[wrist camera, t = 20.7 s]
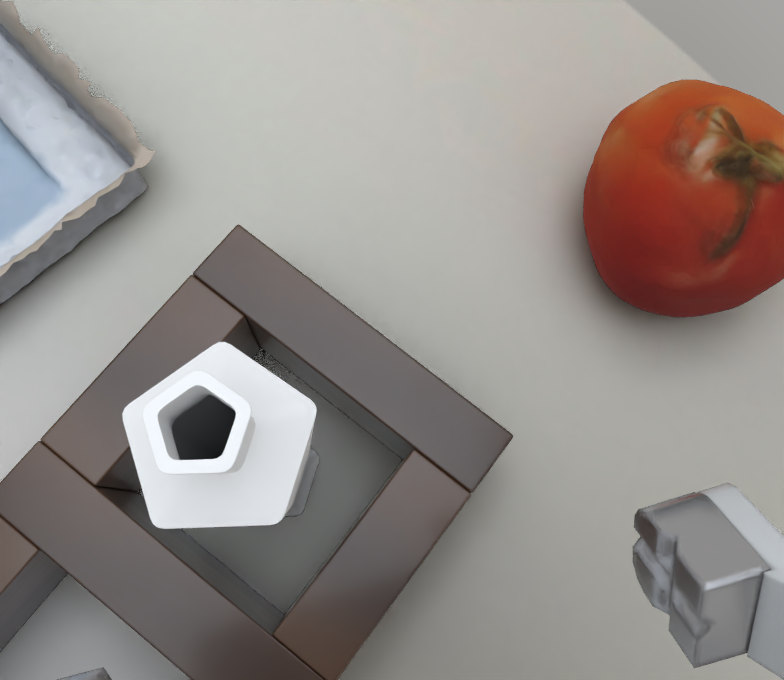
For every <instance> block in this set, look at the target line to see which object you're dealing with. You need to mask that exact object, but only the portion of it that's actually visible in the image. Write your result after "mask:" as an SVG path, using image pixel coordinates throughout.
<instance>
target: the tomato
mask: <svg viewBox="0 0 784 680" xmlns="http://www.w3.org/2000/svg"><path fill="white" fill-rule="evenodd" d="M583 219H584V226H585V232H586V236H587V239H588V243H589V246H590V249H591V253H592V256H593V259H594V262H595V265H596V268H597V270H598V272H599V274H600V276H601V277H602V279H603V280H604V282H605V283H606V285H607V286H608V287H609V288H610V289H611V290H612V291H613V292H614V293H615V294H616V295H617V296H618V297H619V298H620V299H622V300H624V301H625V302H627V303H629V304H631V305H633V306H635V307H636V308H639V309H642V310H645V311H647V312H651V313H655V314H659V315H665V316H671V317H693V316H700V315H706V314H711V313H715V312H720V311H724V310H729V309H732V308H735V307H737V306H739V305H741V304H744V303H745V302H747V301H749V300H751V299H752V298H754V297H756V296H757V295H759V294H761V293H762V292H764V291H765V290H767V289H769V288H770V287H772V286H773V285H775V284H777V283H778V282H780V281H781V280H782V279H783V278H784V115H782V114H781V113H780V112H778V111H777V110H776V109H774V108H773V107H771V106H770V105H769V104H767V103H765V102H763V101H761V100H759V99H757V98H755V97H753V96H751V95H748V94H745V93H742V92H740V91H738V90H735V89H732V88H729V87H725V86H720V85H715V84H712V83H708V82H705V81H700V80H679V81H675V82H671V83H668V84H666V85H663V86H661V87H659V88H657V89H656V90H654V91H652V92H651V93H649V94H647V95H645V96H644V97H642V98H640V99H639V100H637V101H636V102H634V103H633V104H631V105H629V106H628V107H626V108H625V109H623V110H622V111H621V112H620V113H619V114H618V115H617V116H616V117H615V118H614V119H613V120H612V121H611V123H610V124H609V126H608V128H607V130H606V132H605V134H604V136H603V138H602V141H601V143H600V146H599V148H598V150H597V152H596V154H595V157H594V161H593V164H592V166H591V168H590V171H589V174H588V177H587V181H586V185H585V190H584V206H583Z"/></svg>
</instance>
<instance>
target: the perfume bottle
mask: <svg viewBox="0 0 784 680" xmlns="http://www.w3.org/2000/svg"><path fill="white" fill-rule="evenodd" d="M316 411H317V409H316V406H315V404H314V403H313V402H312V401H311V400H310V399H309V398H308V397H306V396H305V395H303V394H302V393H300V392H299V391H297V390H296V389H295V388H293V387H292V386H290V385H289V384H287V383H286V382H284V381H283V380H281V379H280V378H279V377H277V376H276V375H274V374H273V373H271V372H270V371H268V370H267V369H265V368H264V367H263V366H261V365H260V364H258V363H257V362H255V361H254V360H252V359H251V358H250V357H248V356H247V355H245V354H244V353H242V352H241V351H239V350H238V349H236V348H235V347H234V346H232V345H231V344H228V343H226V342H218V343H216V344H214V345H212V346H211V347H210V348H208V349H207V350H205V351H204V352H202V353H201V354H200V355H198V356H197V357H195V358H194V359H192V360H191V361H190V362H188V363H187V364H185V365H184V366H182V367H181V368H180V369H178V370H177V371H175V372H174V373H172V374H171V375H170V376H168V377H167V378H165V379H164V380H162V381H161V382H160V383H158V384H157V385H155V386H154V387H152V388H151V389H150V390H148V391H147V392H145V393H144V394H142V395H141V396H140V397H138V398H137V399H135V400H134V401H132V402H131V403H130V404H128V405H127V406H126V407H125V408H124V411H123V414H122V416H123V423H124V426H125V430H126V434H127V437H128V441H129V444H130V448H131V451H132V455H133V459H134V462H135V466H136V469H137V473H138V477H139V480H140V484H141V487H142V491H143V494H144V498H145V502H146V505H147V509H148V512H149V516H150V519H151V521H152V523H153V525H155V526H156V527H158V528H163V529H174V528H202V527H230V526H258V525H273V524H277V523H278V522H279V521H281V520H282V519H283V517H284V516H297V515H300V514H301V513H302V512H303V510H304V507H305V504H306V501H307V497H308V494H309V491H310V488H311V485H312V481H313V478H314V475H315V472H316V468H317V465H318V462H319V456H318V454H317V453H316V452H315V451H314V450H312V449H311V448H310V445H311V439H312V434H313V428H314V423H315V418H316Z"/></svg>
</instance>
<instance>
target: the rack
mask: <svg viewBox="0 0 784 680" xmlns="http://www.w3.org/2000/svg"><path fill="white" fill-rule="evenodd" d="M193 275H194V276H193ZM193 275H191V276H190V277H189V278H188V279H187V280H186V281H185V282H184V283H183V284H182V285H181V286H180V288H179V289H178V290H177V291H176V292H175V293H174V294H173V295H172V296H171V297H170V298H169V300H168V301H167V302H166V303H165V304H164V305H163V306H162V307H161V308H160V309H159V310H158V312H157V313H156V314H155V315H154V316H153V317H152V318H151V319H150V320H149V321H148V322H147V323H146V325H145V326H144V327H143V328H142V329H141V330H140V331H139V332H138V333H137V334H136V335H135V337H134V338H133V339H132V340H131V341H130V342H129V343H128V344H127V345H126V346H125V347H124V349H123V350H122V351H121V352H120V353H119V354H118V355H117V356H116V357H115V358H114V359H113V361H112V362H111V363H110V364H109V365H108V366H107V367H106V368H105V369H104V370H103V371H102V373H101V374H100V375H99V376H98V377H97V378H96V379H95V380H94V381H93V382H92V383H91V385H90V386H89V387H88V388H87V389H86V390H85V391H84V392H83V393H82V394H81V395H80V397H79V398H78V399H77V400H76V401H75V402H74V403H73V404H72V405H71V406H70V407H69V409H68V410H67V411H66V412H65V413H64V414H63V415H62V416H61V417H60V418H59V419H58V420H57V422H56V423H55V424H54V425H53V426H52V427H51V428H50V429H49V430H48V431H47V432H46V434H45V435H44V436H43V437H42V438H41V441H38V442H37V443H36V444H35V445H34V446H33V447H32V449H31V450H30V451H29V452H28V453H27V454H26V455H25V456H24V457H23V458H22V459H21V461H20V462H19V463H18V464H17V465H16V466H15V467H14V468H13V469H12V470H11V471H10V473H9V474H8V475H7V476H6V477H5V478H4V479H3V480H2V481H1V482H0V651H1V650H2V649H3V648H4V647H5V645H6V644H7V643H8V642H9V641H10V640H11V638H12V637H13V636H14V635H15V634H16V633H17V631H18V630H19V629H20V628H21V627H22V626H23V625H24V623H25V622H26V621H27V620H28V619H29V618H30V616H31V615H32V614H33V613H34V612H35V611H36V609H37V608H38V607H39V606H40V605H41V604H42V602H43V601H44V600H45V599H46V598H47V597H48V595H49V594H50V593H51V592H52V591H53V590H54V588H55V587H56V586H57V585H58V584H59V583H60V581H61V580H62V579H63V578H64V577H65V576H66V574H67V573H68V574H69V575H71V576H72V577H73V578H74V579H75V580H76V581H77V582H79V583H80V584H81V585H82V586H83V587H84V588H86V589H87V590H88V591H89V592H90V593H91V594H93V595H94V596H95V597H96V598H97V599H98V600H100V601H101V602H102V603H103V604H104V605H105V606H107V607H108V608H109V609H110V610H111V611H112V612H114V613H115V614H116V615H117V616H118V617H119V618H121V619H122V620H123V621H124V622H125V623H126V624H128V625H129V626H130V627H131V628H132V629H133V630H135V631H136V632H137V633H138V634H139V635H140V636H142V637H143V638H144V639H145V640H146V641H147V642H149V643H150V644H151V645H152V646H153V647H154V648H156V649H157V650H158V651H159V652H160V653H161V654H163V655H164V656H165V657H166V658H167V659H168V660H169V661H171V662H172V663H173V664H174V665H175V666H176V667H178V668H179V669H180V670H181V671H182V672H183V673H185V674H186V675H187V676H188V677H189V678H190V679H192V680H338V678H339V677H340V675H341V674H342V673H343V671H344V670H345V669H346V667H347V666H348V664H349V663H350V662H351V660H352V659H353V657H354V656H355V655H356V653H357V652H358V651H359V649H360V648H361V646H362V645H363V644H364V642H365V641H366V640H367V638H368V637H369V635H370V634H371V633H372V631H373V630H374V629H375V627H376V626H377V624H378V623H379V622H380V620H381V619H382V617H383V616H384V615H385V613H386V612H387V611H388V609H389V608H390V606H391V605H392V604H393V602H394V601H395V600H396V598H397V597H398V595H399V594H400V593H401V591H402V590H403V589H404V587H405V586H406V584H407V583H408V582H409V580H410V579H411V577H412V576H413V575H414V573H415V572H416V571H417V569H418V568H419V566H420V565H421V564H422V562H423V561H424V560H425V558H426V557H427V555H428V554H429V553H430V551H431V550H432V549H433V547H434V546H435V544H436V543H437V542H438V540H439V539H440V537H441V536H442V535H443V533H444V532H445V531H446V529H447V528H448V526H449V525H450V524H451V522H452V521H453V520H454V518H455V517H456V515H457V514H458V513H459V511H460V510H461V509H462V507H463V506H464V504H465V503H466V502H467V500H468V499H469V497H470V496H471V493H472V492H474V491H475V489H476V488H477V486H478V485H479V484H480V482H481V481H482V480H483V478H484V477H485V475H486V474H487V473H488V471H489V470H490V468H491V467H492V466H493V464H494V463H495V462H496V460H497V459H498V457H499V456H500V455H501V453H502V452H503V451H504V449H505V448H506V446H507V445H508V444H509V442H510V441H511V440H512V438H513V435H512V434H511V433H510V432H509V431H507V430H506V429H505V428H503V427H502V426H501V425H499V424H498V423H497V422H495V421H494V420H493V419H492V418H490V417H489V416H488V415H486V414H485V413H484V412H482V411H481V410H480V409H479V408H477V407H476V406H475V405H473V404H472V403H471V402H469V401H468V400H467V399H466V398H464V397H463V396H462V395H460V394H459V393H458V392H456V391H455V390H454V389H453V388H451V387H450V386H449V385H447V384H446V383H445V382H443V381H442V380H441V379H440V378H438V377H437V376H436V375H434V374H433V373H432V372H430V371H429V370H428V369H426V368H425V367H424V366H423V365H421V364H420V363H419V362H417V361H416V360H415V359H413V358H412V357H411V356H410V355H408V354H407V353H406V352H404V351H403V350H402V349H400V348H399V347H398V346H397V345H395V344H394V343H393V342H391V341H390V340H389V339H387V338H386V337H385V336H384V335H382V334H381V333H380V332H378V331H377V330H376V329H374V328H373V327H372V326H371V325H369V324H368V323H367V322H365V321H364V320H363V319H361V318H360V317H359V316H358V315H356V314H355V313H354V312H352V311H351V310H350V309H348V308H347V307H346V306H344V305H343V304H342V303H341V302H339V301H338V300H337V299H335V298H334V297H333V296H331V295H330V294H329V293H328V292H326V291H325V290H324V289H322V288H321V287H320V286H318V285H317V284H316V283H315V282H313V281H312V280H311V279H309V278H308V277H307V276H305V275H304V274H303V273H302V272H300V271H299V270H298V269H296V268H295V267H294V266H292V265H291V264H290V263H289V262H287V261H286V260H285V259H283V258H282V257H281V256H279V255H278V254H277V253H275V252H274V251H273V250H272V249H270V248H269V247H268V246H266V245H265V244H264V243H262V242H261V241H260V240H259V239H257V238H256V237H255V236H253V235H252V234H251V233H249V232H248V231H247V230H246V229H244V228H243V227H242V226H240V225H237V226H236V227H235V228H234V229H233V230H232V231H231V232H230V233H229V234H228V235H227V236H226V237H225V239H224V240H223V241H222V242H221V243H220V244H219V245H218V246H217V247H216V248H215V249H214V251H213V252H212V253H211V254H210V255H209V256H208V257H207V258H206V259H205V260H204V261H203V263H202V264H201V265H200V266H199V267H198V268H197V269H196V270H195V271H194V273H193ZM218 342H226V343H228V344H231V345H232V346H234V347H235V348H236V349H238V350H239V351H241V352H242V353H244V354H245V355H247V356H248V357H250V358H251V359H252V358H253V357H254V356H255V355H256V353H257V352H258V351H259V350H260V348H262V349H263V350H264V351H266V352H267V353H268V354H269V355H271V356H272V357H273V358H274V359H276V360H277V361H278V362H279V363H281V364H282V365H283V366H285V367H286V368H287V369H288V370H290V371H291V372H292V373H293V374H295V375H296V376H297V377H299V378H300V379H301V380H302V381H304V382H305V383H306V384H307V385H309V386H310V387H311V388H312V389H314V390H315V391H316V392H318V393H319V394H320V395H321V396H323V397H324V398H325V399H326V400H328V401H329V402H330V403H332V404H333V405H334V406H335V407H337V408H338V409H339V410H340V411H342V412H343V413H344V414H345V415H347V416H348V417H349V418H351V419H352V420H353V421H354V422H356V423H357V424H358V425H359V426H361V427H362V428H363V429H365V430H366V431H367V432H368V433H370V434H371V435H372V436H373V437H375V438H376V439H377V440H379V441H380V442H381V443H382V444H384V445H385V446H386V447H387V448H389V449H390V450H391V451H392V452H394V453H395V454H396V455H398V456H399V457H400V458H401V459H403V460H402V461H401V463H400V464H399V465H398V466H397V468H396V469H395V470H394V472H393V473H392V474H391V476H390V477H389V478H388V480H387V481H386V482H385V484H384V485H383V486H382V487H381V489H380V490H379V491H378V493H377V494H376V495H375V497H374V498H373V499H372V501H371V502H370V503H369V504H368V506H367V507H366V508H365V510H364V511H363V512H362V514H361V515H360V516H359V518H358V519H357V520H356V522H355V523H354V524H353V525H352V527H351V528H350V529H349V531H348V532H347V533H346V535H345V536H344V537H343V539H342V540H341V541H340V542H339V544H338V545H337V546H336V548H335V549H334V550H333V552H332V553H331V554H330V556H329V557H328V558H327V560H326V561H325V562H324V563H323V565H322V566H321V567H320V569H319V570H318V571H317V573H316V574H315V575H314V577H313V578H312V579H311V580H310V582H309V583H308V584H307V586H306V587H305V588H304V590H303V591H302V592H301V594H300V595H299V596H298V598H297V599H296V600H295V601H294V603H293V604H292V605H291V607H290V608H289V609H288V611H287V612H286V613H285V615H283V614H282V613H281V612H280V611H279V610H277V609H276V608H275V607H274V606H273V605H271V604H270V603H269V602H268V601H267V600H265V599H264V598H263V597H262V596H261V595H259V594H258V593H257V592H256V591H255V590H253V589H252V588H251V587H250V586H249V585H247V584H246V583H245V582H244V581H243V580H241V579H240V578H239V577H238V576H237V575H235V574H234V573H233V572H232V571H231V570H229V569H228V568H227V567H226V566H225V565H223V564H222V563H221V562H220V561H219V560H217V559H216V558H215V557H214V556H213V555H211V554H210V553H209V552H208V551H207V550H205V549H204V548H203V547H202V546H201V545H199V544H198V543H197V542H196V541H195V540H193V539H192V538H191V537H190V536H189V535H187V534H186V533H185V532H184V531H183V530H181V529H180V528H174V529H163V528H158V527H156V526H155V525H153V523H152V521H151V519H150V516H149V512H148V509H147V505H146V502H145V499H144V498H143V497H142V496H141V495H139V494H138V493H137V491H139V489H140V488H141V484H140V480H139V477H138V473H137V469H136V466H135V462H134V459H133V455H132V451H131V448H130V444H129V441H128V437H127V434H126V430H125V426H124V423H123V416H122V414H123V411H124V408H125V407H126V406H127V405H128V404H130V403H131V402H132V401H134V400H135V399H137V398H138V397H140V396H141V395H142V394H144V393H145V392H147V391H148V390H150V389H151V388H152V387H154V386H155V385H157V384H158V383H160V382H161V381H162V380H164V379H165V378H167V377H168V376H170V375H171V374H172V373H174V372H175V371H177V370H178V369H180V368H181V367H182V366H184V365H185V364H187V363H188V362H190V361H191V360H192V359H194V358H195V357H197V356H198V355H200V354H201V353H202V352H204V351H205V350H207V349H208V348H210V347H211V346H212V345H214V344H216V343H218Z"/></svg>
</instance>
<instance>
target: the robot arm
mask: <svg viewBox="0 0 784 680" xmlns="http://www.w3.org/2000/svg"><path fill="white" fill-rule="evenodd" d="M634 528H635V529H636V531H637V532H638V533H639V535H640V536H641V537H640V538H639V539H638V541H637V542H636V543H635V545H634V546H633V565H634V568H635V572H636V576H637V579H638V581H639V583H640V585H641V587H642V590H643V592H644V593H645V595H646V596H647V598H648V600H649V601H650V603H651V604H652V606H654V607H655V608H657V609H659V610H661V611H663V612H665V613H667V614H669V615H670V622H669V632H670V633H671V635H672V636H673V638H674V639H675V641H676V642H677V643H678V645H679V646H680V648H681V649H682V651H683V652H684V654H685V655H686V657H687V658H688V660H689V661H690V663H691V664H692V666H693V667H694V668H697V667H700V666H704V665H707V664H711V663H714V662H717V661H721V660H724V659H728V658H731V657H735V656H738V655H741V654H745V653H748V654H747V656H748V657H749V658H751V659H753V660H754V661H756V662H757V663H759V664H760V665H762V666H763V667H765V668H766V669H768V670H770V671H771V672H773V673H774V674H776V675H777V676H779V677H780V678H782V679H784V536H783V535H782V534H781V533H780V532H779V531H778V530H777V529H776V528H775V527H774V525H773V524H772V523H771V522H770V521H769V520H768V519H767V518H766V517H765V516H764V515H763V514H762V513H761V512H760V511H759V510H758V509H757V508H756V507H755V506H754V505H753V504H752V503H751V502H750V501H749V500H748V498H747V497H746V496H745V495H744V494H743V493H742V492H741V491H740V490H739V489H738V488H737V487H736V486H734V485H732V484H730V483H727V484H723V485H719V486H716V487H713V488H709V489H706V490H703V491H699V492H697V493H696V492H693V493H690V494H687V495H683V496H680V497H677V498H674V499H670V500H667V501H664V502H661V503H657V504H654V505H651V506H648V507H645V508H641V509H638V511H637V513H636V514H635V519H634ZM58 680H112V679H111V678H110V676H109V675H108V673H107V672H106V670H105V669H104V668H99V669H95V670H92V671H88V672H84V673H80V674H77V675H73V676H69V677H65V678H61V679H58Z"/></svg>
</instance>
